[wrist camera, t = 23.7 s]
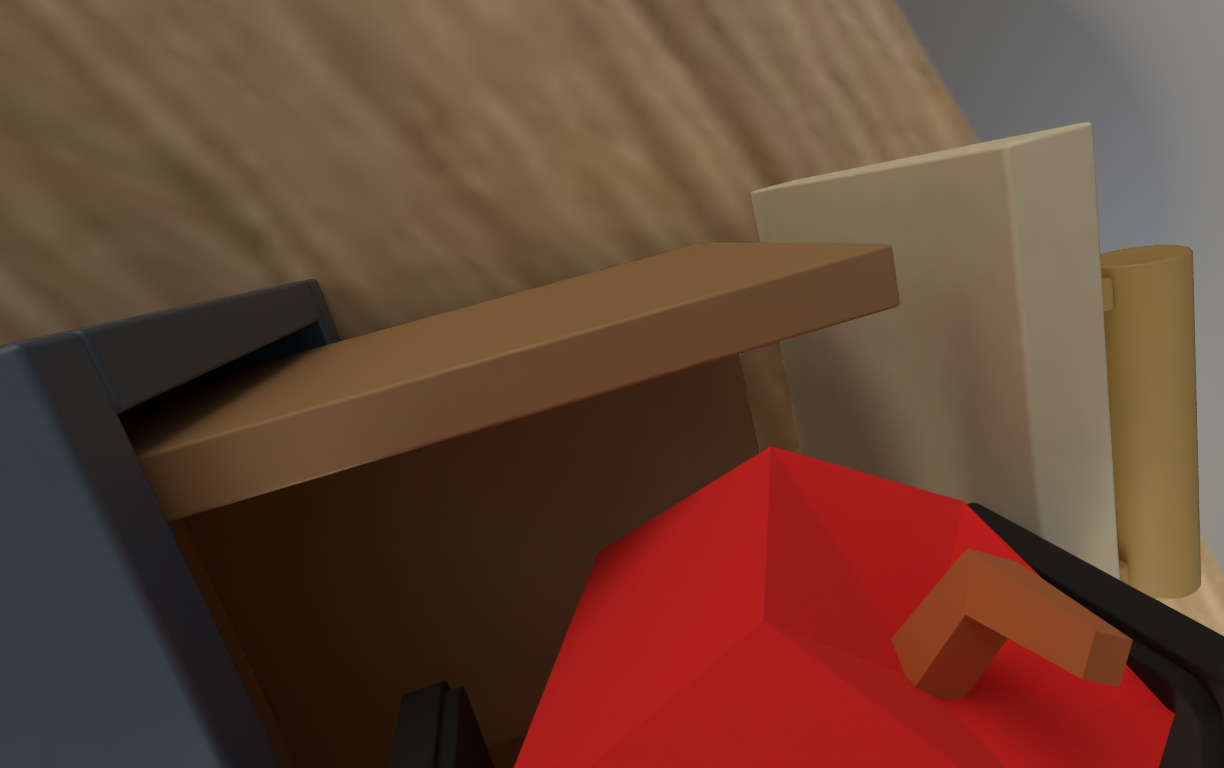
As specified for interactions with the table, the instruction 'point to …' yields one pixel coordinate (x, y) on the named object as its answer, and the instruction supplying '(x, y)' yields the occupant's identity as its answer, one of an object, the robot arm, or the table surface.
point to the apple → (834, 641)
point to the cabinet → (120, 544)
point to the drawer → (677, 429)
